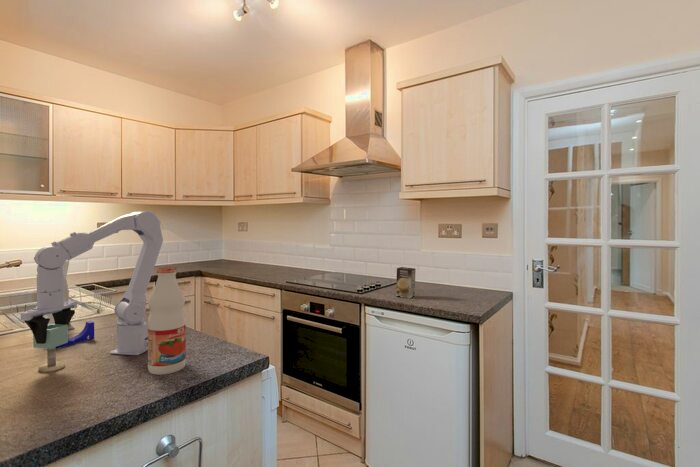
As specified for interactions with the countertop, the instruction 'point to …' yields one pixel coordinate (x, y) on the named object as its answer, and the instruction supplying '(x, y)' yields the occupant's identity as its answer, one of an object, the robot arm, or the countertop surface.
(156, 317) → the fruit juice
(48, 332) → the green hollow cube
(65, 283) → the skyscraper
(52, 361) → the spindle
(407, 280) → the coffee box
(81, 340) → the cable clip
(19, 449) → the countertop surface
